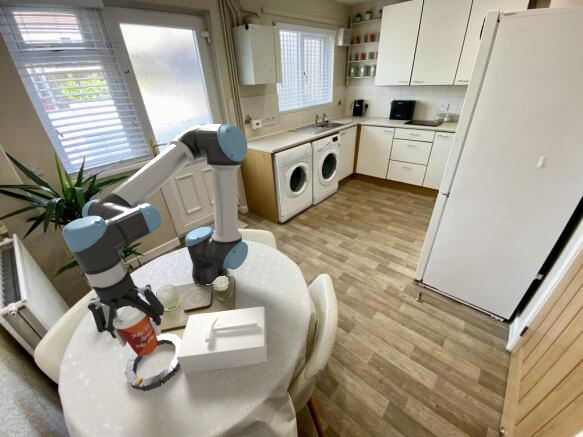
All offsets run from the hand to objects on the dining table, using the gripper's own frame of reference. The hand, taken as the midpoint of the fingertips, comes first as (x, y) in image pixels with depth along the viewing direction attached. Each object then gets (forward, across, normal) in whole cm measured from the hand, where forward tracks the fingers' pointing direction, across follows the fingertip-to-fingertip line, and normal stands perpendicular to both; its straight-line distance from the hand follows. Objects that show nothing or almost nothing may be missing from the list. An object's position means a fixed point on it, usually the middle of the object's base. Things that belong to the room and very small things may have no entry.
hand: (142, 337), depth 69 cm
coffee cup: (+4, 0, 0) cm, 4 cm away
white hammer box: (+13, -22, +2) cm, 26 cm away
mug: (+13, +16, -28) cm, 35 cm away
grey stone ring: (+13, 0, 0) cm, 13 cm away
